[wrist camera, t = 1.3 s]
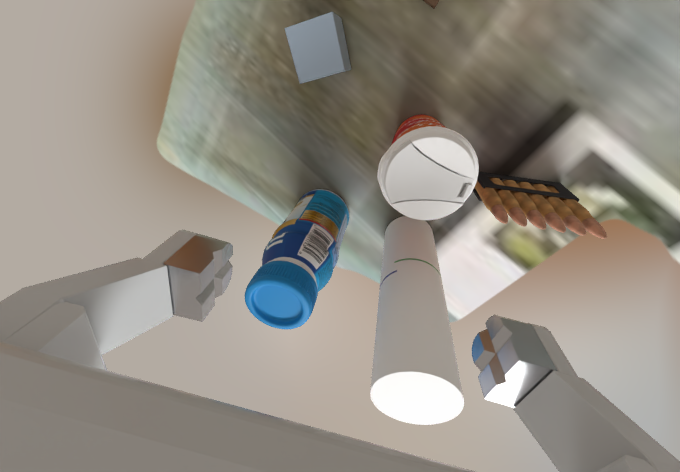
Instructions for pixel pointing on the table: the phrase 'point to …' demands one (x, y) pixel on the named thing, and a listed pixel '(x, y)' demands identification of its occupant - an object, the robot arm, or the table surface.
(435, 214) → the coffee cup
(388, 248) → the cylindrical container
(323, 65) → the slate cube
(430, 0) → the brown rippled cloth
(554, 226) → the ammunition clip
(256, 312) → the beverage bottle
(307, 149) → the table surface
